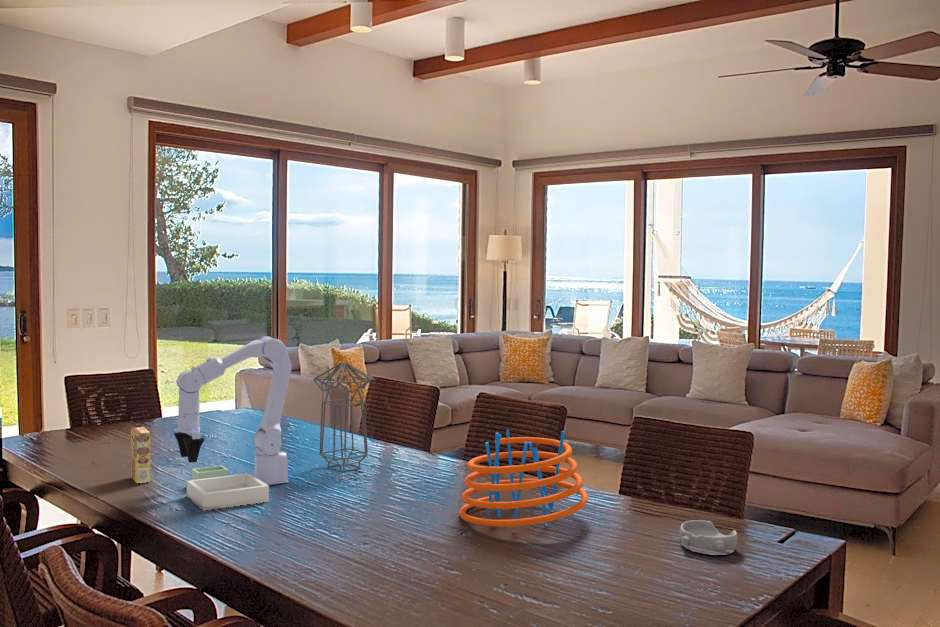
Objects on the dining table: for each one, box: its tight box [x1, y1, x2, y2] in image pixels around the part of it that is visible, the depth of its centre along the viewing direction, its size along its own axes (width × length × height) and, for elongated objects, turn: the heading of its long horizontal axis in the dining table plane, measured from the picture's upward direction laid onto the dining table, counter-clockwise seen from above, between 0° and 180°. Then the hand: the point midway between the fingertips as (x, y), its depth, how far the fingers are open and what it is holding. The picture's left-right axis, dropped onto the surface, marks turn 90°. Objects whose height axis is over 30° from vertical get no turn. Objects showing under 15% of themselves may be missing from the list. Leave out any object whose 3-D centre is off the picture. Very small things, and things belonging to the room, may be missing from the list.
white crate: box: [186, 472, 270, 512], centre depth 229 cm, size 18×16×4 cm
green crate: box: [191, 465, 229, 480], centre depth 242 cm, size 9×6×5 cm, turn 125°
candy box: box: [130, 426, 151, 485], centre depth 245 cm, size 9×4×15 cm, turn 33°
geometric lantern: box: [312, 361, 375, 472], centre depth 268 cm, size 16×16×35 cm
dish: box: [679, 519, 738, 551], centre depth 200 cm, size 14×14×5 cm
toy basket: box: [459, 428, 589, 528], centre depth 219 cm, size 34×35×24 cm
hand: (188, 459), depth 236 cm, fingers open, 7 cm apart
